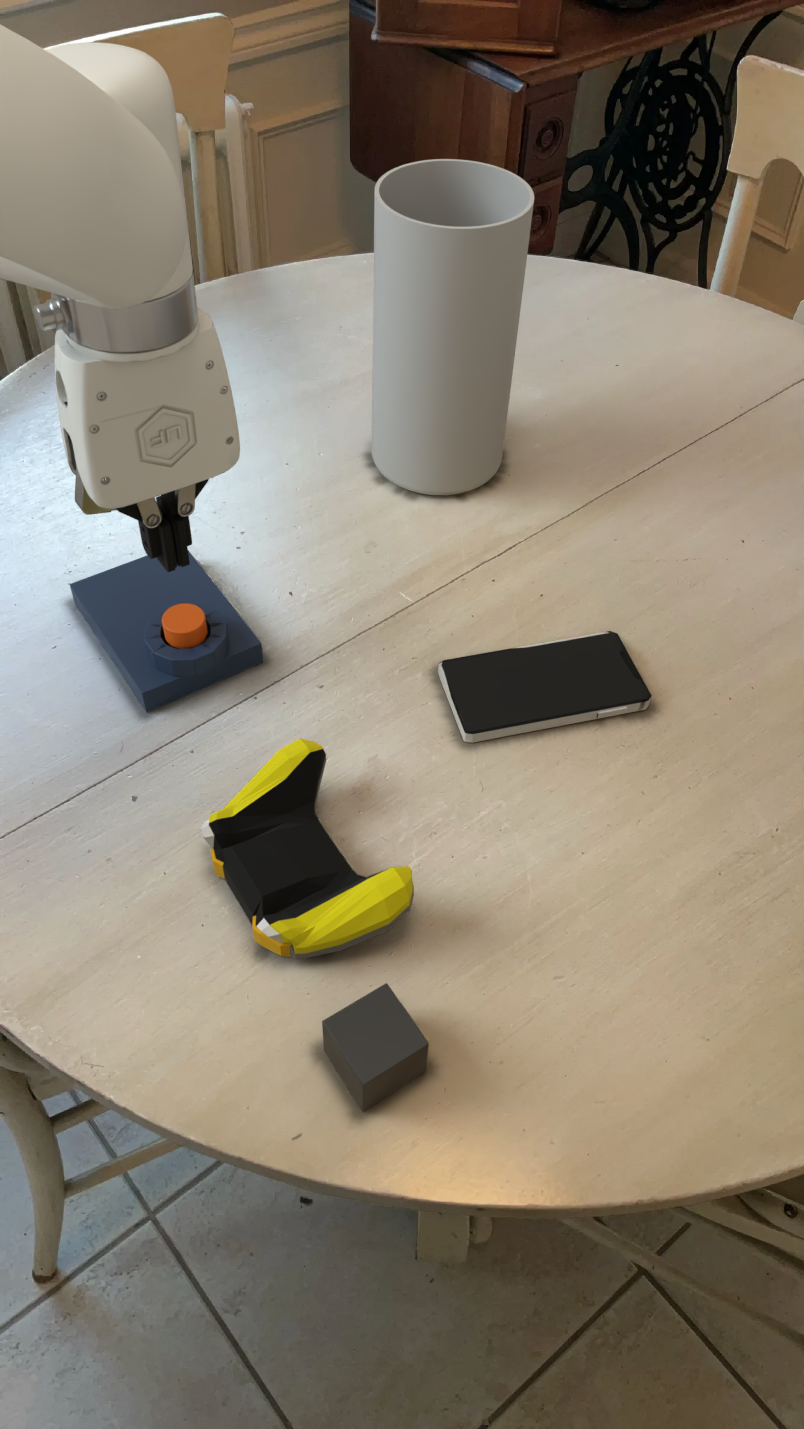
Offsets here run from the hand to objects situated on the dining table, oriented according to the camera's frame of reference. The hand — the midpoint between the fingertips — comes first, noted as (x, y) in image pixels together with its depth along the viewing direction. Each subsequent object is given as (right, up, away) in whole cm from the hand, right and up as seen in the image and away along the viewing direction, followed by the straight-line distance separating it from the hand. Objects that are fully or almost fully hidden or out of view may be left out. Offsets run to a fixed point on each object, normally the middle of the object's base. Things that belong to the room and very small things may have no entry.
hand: (169, 557), depth 73 cm
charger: (+15, -31, -11) cm, 36 cm away
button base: (-3, -4, +12) cm, 13 cm away
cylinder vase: (+19, +14, +29) cm, 37 cm away
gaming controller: (+9, -22, -2) cm, 24 cm away
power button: (0, -5, +7) cm, 8 cm away
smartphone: (+27, -9, +9) cm, 30 cm away
